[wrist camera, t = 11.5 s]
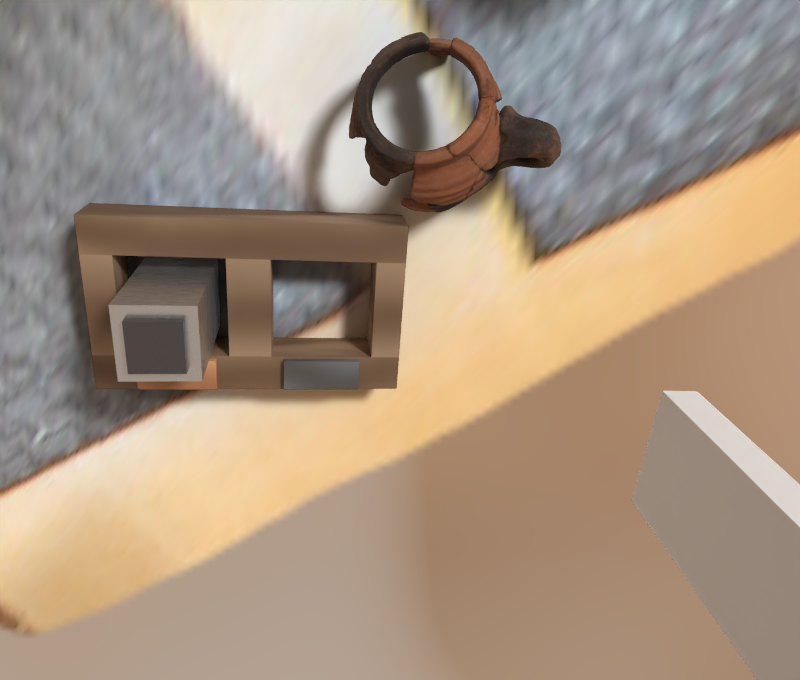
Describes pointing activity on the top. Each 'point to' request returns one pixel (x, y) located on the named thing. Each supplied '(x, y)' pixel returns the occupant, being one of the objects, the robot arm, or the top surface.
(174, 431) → the top surface
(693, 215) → the top surface
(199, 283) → the plug
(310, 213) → the socket board
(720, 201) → the top surface
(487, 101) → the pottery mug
